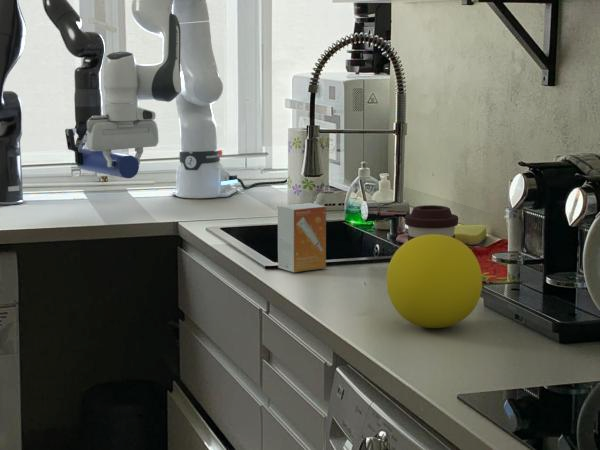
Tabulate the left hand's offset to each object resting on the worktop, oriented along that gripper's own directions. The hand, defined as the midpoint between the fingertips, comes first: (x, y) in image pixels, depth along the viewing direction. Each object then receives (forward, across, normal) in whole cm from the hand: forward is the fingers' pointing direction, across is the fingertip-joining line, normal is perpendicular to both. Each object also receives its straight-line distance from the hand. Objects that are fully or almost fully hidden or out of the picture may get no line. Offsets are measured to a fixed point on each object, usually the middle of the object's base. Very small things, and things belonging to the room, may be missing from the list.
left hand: (90, 164), depth 293 cm
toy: (+12, +19, +150) cm, 151 cm away
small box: (+13, +6, +101) cm, 102 cm away
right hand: (-1, 0, +18) cm, 18 cm away
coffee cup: (+12, -1, +130) cm, 130 cm away
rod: (+2, 0, +9) cm, 9 cm away
